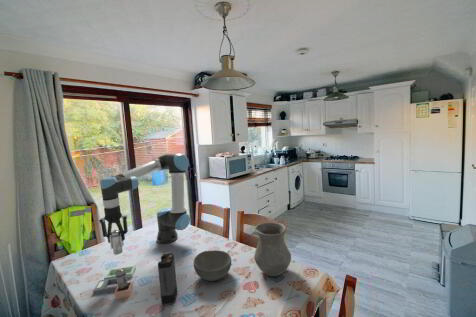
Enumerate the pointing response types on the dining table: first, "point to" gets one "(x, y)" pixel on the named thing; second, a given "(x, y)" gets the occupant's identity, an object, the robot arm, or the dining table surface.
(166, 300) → the electronic device
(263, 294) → the dining table surface
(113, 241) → the cell
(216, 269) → the bowl
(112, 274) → the trough
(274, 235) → the vase
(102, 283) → the cradle
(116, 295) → the orange open box
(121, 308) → the dining table surface
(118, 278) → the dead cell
